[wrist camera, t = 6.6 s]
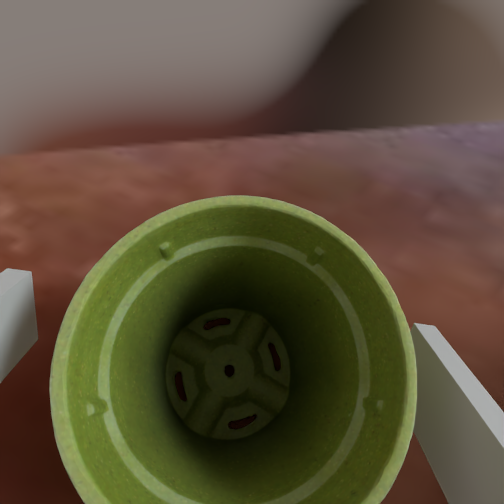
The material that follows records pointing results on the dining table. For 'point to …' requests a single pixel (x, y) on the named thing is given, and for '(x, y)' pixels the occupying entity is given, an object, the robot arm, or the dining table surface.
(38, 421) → the dining table surface
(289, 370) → the plant pot
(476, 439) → the robot arm
